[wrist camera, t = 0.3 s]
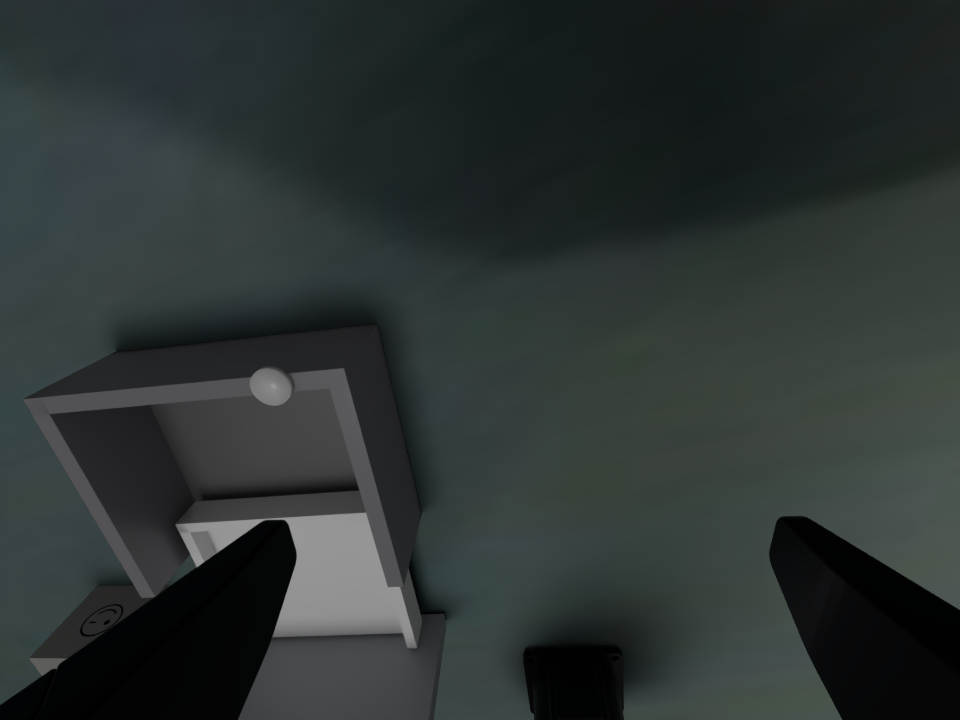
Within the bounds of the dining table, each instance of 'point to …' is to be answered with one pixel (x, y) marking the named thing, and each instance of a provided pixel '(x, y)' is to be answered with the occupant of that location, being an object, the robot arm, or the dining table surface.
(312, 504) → the tray
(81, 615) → the dice cube
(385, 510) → the housing
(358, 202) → the dining table surface
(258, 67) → the dining table surface
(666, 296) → the dining table surface
